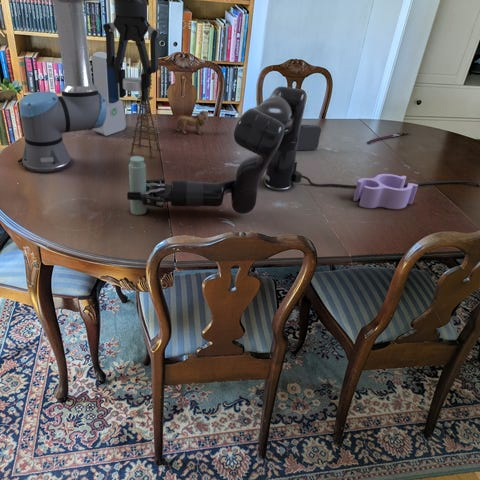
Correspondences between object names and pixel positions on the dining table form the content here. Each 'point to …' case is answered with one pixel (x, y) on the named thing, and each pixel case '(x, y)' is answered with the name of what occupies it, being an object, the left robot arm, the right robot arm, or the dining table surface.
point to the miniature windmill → (144, 125)
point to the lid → (132, 84)
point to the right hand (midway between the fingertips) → (128, 191)
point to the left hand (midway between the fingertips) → (133, 97)
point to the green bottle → (137, 183)
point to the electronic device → (108, 95)
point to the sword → (386, 137)
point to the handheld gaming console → (309, 137)
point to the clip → (384, 192)
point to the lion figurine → (193, 121)
